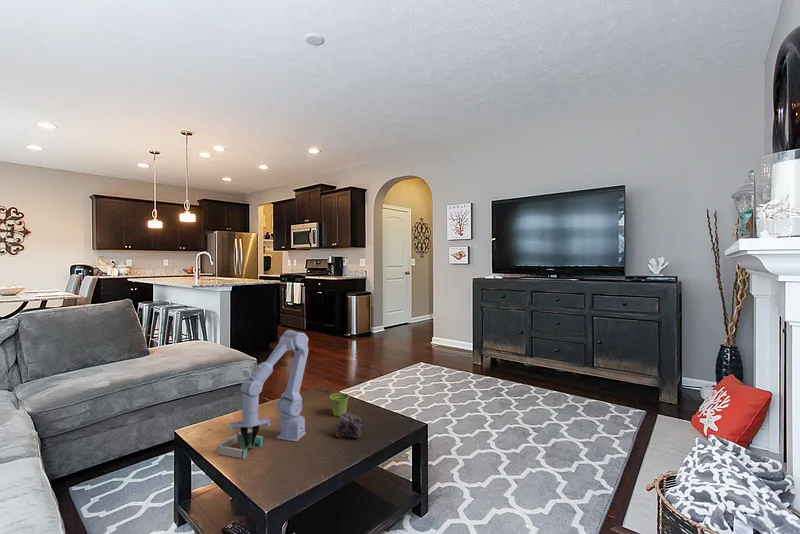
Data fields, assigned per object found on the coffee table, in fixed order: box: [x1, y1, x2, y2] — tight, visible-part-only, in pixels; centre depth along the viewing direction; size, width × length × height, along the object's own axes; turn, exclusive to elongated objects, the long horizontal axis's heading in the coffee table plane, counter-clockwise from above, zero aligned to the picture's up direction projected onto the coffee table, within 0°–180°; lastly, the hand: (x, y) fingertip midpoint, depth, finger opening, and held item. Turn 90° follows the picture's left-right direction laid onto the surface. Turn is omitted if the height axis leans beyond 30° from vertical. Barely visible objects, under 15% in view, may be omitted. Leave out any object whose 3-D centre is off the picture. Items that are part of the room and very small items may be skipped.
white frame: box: [216, 433, 264, 460], centre depth 156 cm, size 12×12×3 cm
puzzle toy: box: [236, 429, 255, 450], centre depth 157 cm, size 6×6×6 cm
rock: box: [333, 412, 365, 439], centre depth 168 cm, size 12×9×10 cm
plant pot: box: [329, 392, 350, 417], centre depth 190 cm, size 9×9×9 cm
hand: (249, 445), depth 153 cm, fingers closed
